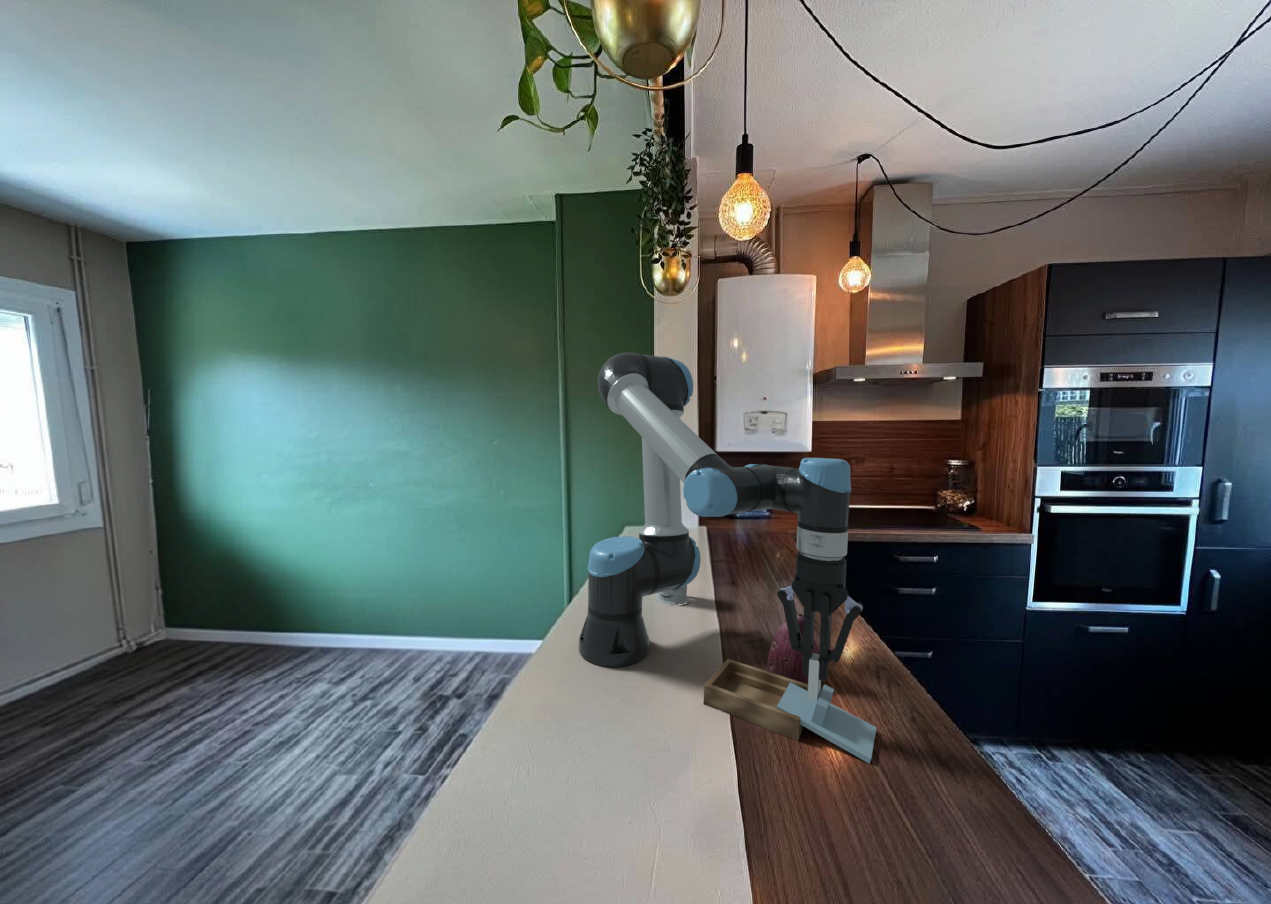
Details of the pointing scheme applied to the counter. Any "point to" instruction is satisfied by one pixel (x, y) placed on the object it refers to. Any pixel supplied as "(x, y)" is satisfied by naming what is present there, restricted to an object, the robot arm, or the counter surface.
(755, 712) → the pencil box
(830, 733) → the lid
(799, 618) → the vegetable
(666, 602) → the french press
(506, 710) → the counter surface
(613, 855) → the counter surface
